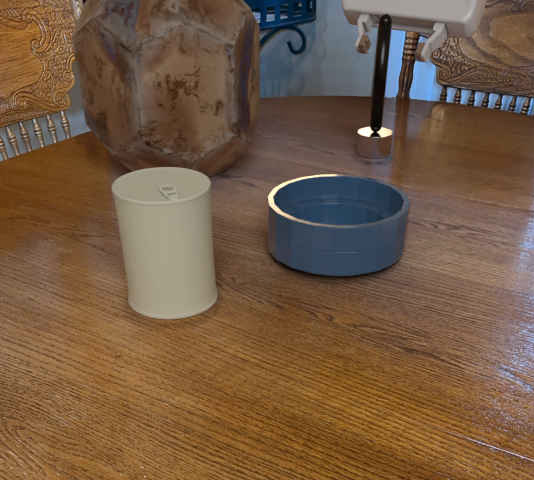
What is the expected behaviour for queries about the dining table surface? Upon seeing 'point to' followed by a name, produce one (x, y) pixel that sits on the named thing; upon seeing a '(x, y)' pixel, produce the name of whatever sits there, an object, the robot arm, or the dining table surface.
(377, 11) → the robot arm
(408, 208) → the bowl
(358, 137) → the black handled meat pounder
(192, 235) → the can
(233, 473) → the dining table surface
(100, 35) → the planter
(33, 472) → the dining table surface
